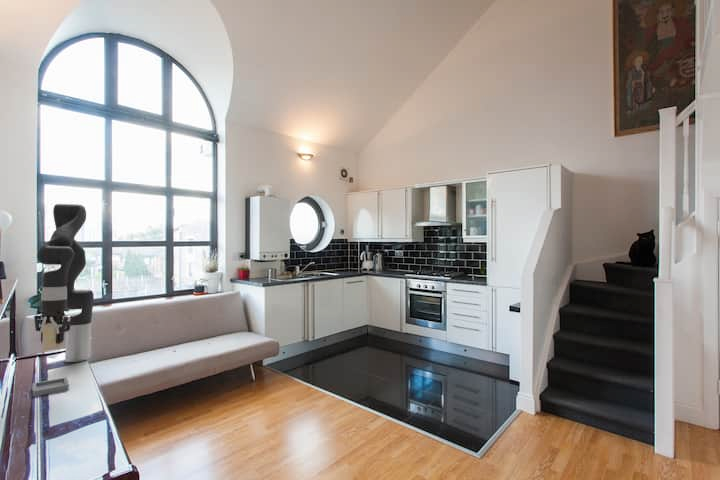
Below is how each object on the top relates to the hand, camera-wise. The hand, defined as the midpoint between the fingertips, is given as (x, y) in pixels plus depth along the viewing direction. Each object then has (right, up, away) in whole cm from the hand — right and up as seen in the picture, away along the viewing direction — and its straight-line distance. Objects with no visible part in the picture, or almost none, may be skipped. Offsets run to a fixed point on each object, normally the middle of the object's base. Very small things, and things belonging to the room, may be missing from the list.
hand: (52, 342), depth 136 cm
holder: (0, -18, 0) cm, 18 cm away
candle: (0, -2, 0) cm, 2 cm away
